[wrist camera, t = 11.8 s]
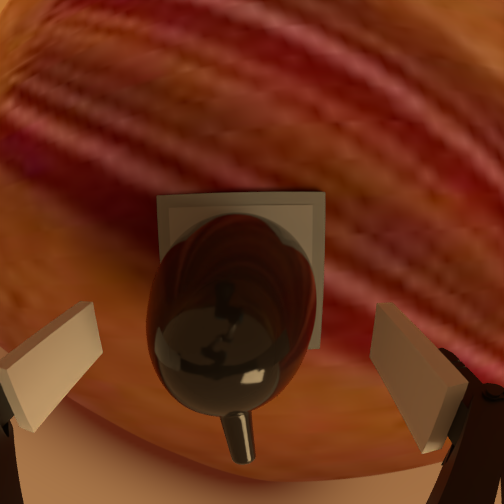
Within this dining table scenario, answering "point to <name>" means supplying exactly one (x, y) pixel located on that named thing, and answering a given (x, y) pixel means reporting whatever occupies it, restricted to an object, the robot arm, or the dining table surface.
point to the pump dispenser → (231, 319)
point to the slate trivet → (260, 203)
